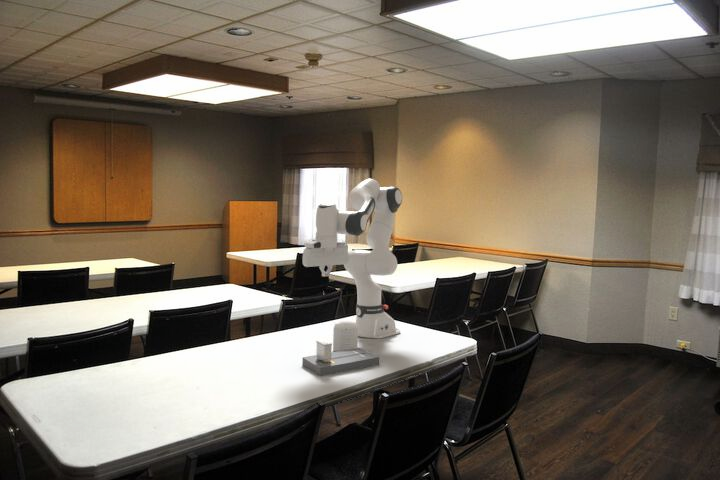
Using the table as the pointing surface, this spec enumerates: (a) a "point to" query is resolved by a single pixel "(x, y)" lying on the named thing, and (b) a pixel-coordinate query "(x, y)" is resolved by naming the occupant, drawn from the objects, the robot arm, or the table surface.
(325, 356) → the fader
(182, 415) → the table surface
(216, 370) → the table surface
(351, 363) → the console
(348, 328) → the photo printer
